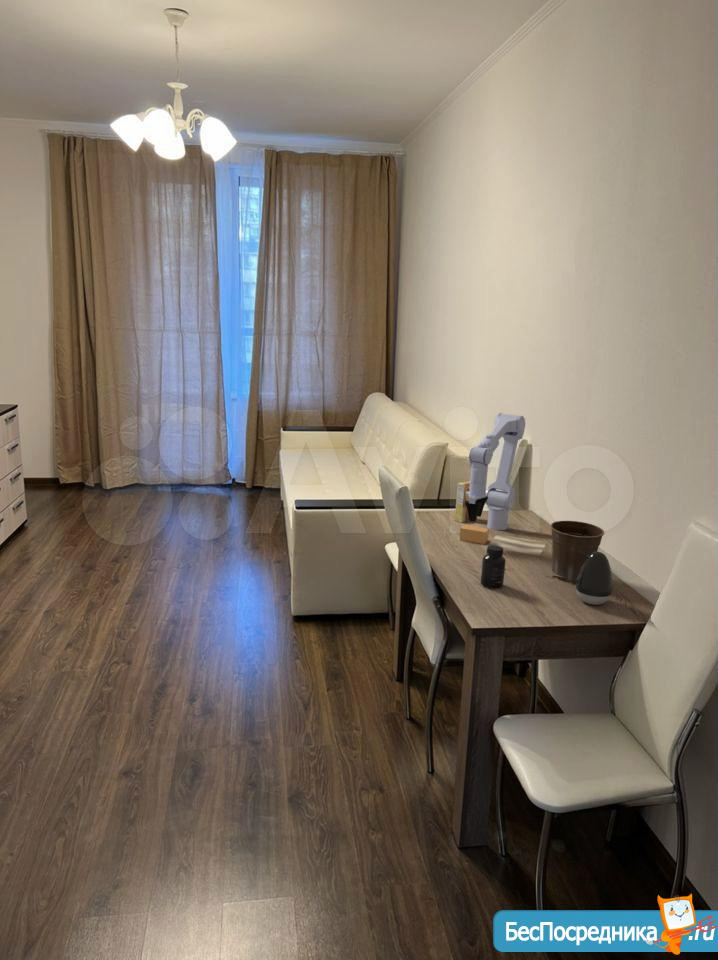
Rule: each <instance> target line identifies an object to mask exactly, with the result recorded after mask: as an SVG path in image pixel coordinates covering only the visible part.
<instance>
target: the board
mask: <svg viewBox="0 0 718 960" xmlns="http://www.w3.org/2000/svg"><path fill="white" fill-rule="evenodd" d="M547 544H548V542H546V541H540V540H539V541H538V540H534V539H527V538H521V537H515V536H510V535H509V536H508V535H504V534H496V535H495V536H494V537H493V538H492V540H491V541H490V542H489V543H488V544H487V545H486V548H487V547H488V546H491V545H496V546H500V547H502V548H503V551H509V552H515V553H520V554H521V553H522V554H526V555H533V556H539V557H540V556H541V554H542V552H543V550H544V549H545V546H546V545H547Z"/></svg>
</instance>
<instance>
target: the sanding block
mask: <svg viewBox="0 0 718 960" xmlns="http://www.w3.org/2000/svg"><path fill="white" fill-rule="evenodd" d="M489 531H490V528H488V527H483V526H475V525H471V524H470V525H468V524H463V525H462V526H461V527H460V529H459V541H464V542H469V543H475V544H482V545H485V544H486V543H487V542H488V540H489Z"/></svg>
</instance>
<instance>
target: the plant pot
mask: <svg viewBox="0 0 718 960" xmlns="http://www.w3.org/2000/svg"><path fill="white" fill-rule="evenodd" d="M550 528H551V539H552V543H551V545H552V551H551V553H552V554H551V555H552V556H551V560H552V561H551V571H552V573H553V574H555V575H553V577H554V578H557V579H558V580H559V581H562V582H566V583H570V582H571V583H570V584H572V583H573V584H576V581H577V577H578V574H579V571H580V569H581V567H582V565H583V563H584V561H585V560H586V559H585V558H584V557H582V556H581V555H580V554H579V552H580V551H582V552H584V553H586V554H588V555H590V554H591V553H592V552H596V551H598V550H599V546H600V545H601V542H602V538H603V536H604V535H605V530H604V529H603V528H602V527H599V526H597V525H595V524H592V523H588V522H583V521H577V520H557V521H553V522H552V523H551V524H550ZM598 552H599V551H598Z"/></svg>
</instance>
